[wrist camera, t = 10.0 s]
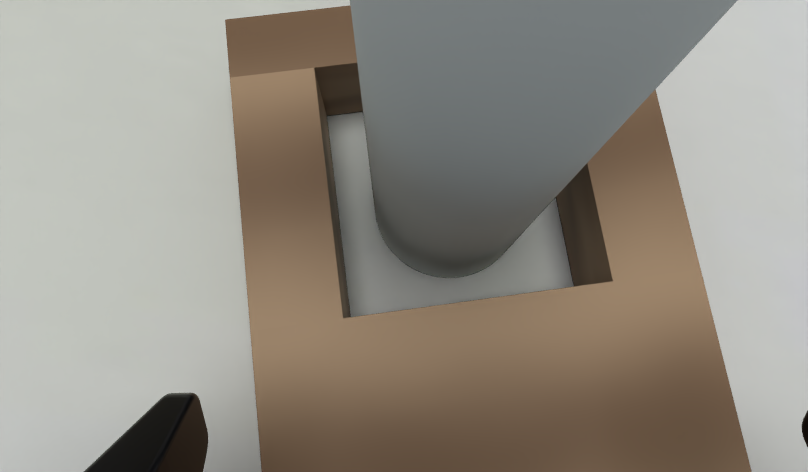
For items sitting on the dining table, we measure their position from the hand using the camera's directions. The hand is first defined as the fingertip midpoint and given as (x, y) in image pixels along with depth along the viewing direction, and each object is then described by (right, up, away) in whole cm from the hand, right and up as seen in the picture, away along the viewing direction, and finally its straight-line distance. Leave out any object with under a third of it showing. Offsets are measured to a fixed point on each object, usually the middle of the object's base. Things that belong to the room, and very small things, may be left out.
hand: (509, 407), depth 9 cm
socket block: (0, +1, +9) cm, 9 cm away
